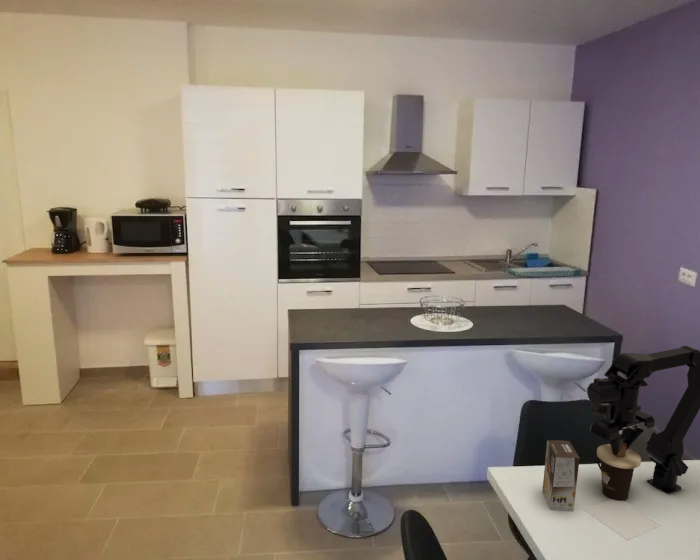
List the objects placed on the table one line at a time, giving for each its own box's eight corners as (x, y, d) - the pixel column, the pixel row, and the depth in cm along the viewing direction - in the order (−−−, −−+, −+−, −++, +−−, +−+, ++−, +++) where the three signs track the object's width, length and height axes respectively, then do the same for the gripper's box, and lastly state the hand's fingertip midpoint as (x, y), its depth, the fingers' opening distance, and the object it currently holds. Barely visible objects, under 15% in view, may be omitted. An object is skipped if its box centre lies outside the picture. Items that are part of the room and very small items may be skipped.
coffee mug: (636, 504, 146) (639, 469, 144) (602, 501, 148) (604, 466, 146) (624, 483, 157) (626, 450, 156) (592, 480, 159) (594, 447, 157)
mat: (617, 498, 150) (617, 497, 149) (661, 527, 138) (661, 525, 138) (583, 511, 144) (584, 509, 144) (626, 541, 133) (627, 540, 132)
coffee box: (574, 513, 143) (581, 458, 140) (549, 511, 144) (555, 457, 140) (564, 492, 152) (570, 440, 149) (540, 490, 153) (546, 439, 149)
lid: (614, 444, 157) (616, 429, 156) (649, 462, 147) (651, 448, 146) (588, 452, 152) (589, 438, 151) (622, 472, 143) (624, 457, 142)
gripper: (623, 383, 157) (617, 432, 161) (577, 395, 149) (571, 446, 153) (659, 398, 147) (651, 450, 151) (611, 411, 139) (604, 466, 143)
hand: (619, 452), depth 150 cm, fingers closed on lid, 3 cm apart
